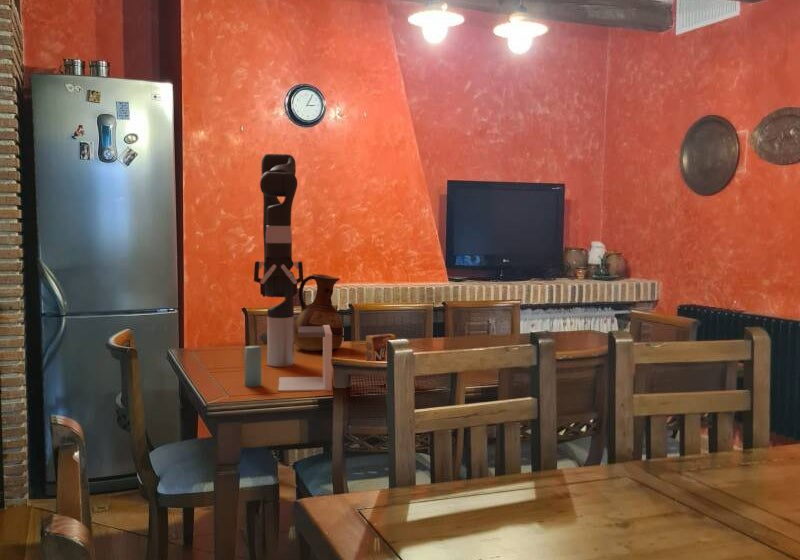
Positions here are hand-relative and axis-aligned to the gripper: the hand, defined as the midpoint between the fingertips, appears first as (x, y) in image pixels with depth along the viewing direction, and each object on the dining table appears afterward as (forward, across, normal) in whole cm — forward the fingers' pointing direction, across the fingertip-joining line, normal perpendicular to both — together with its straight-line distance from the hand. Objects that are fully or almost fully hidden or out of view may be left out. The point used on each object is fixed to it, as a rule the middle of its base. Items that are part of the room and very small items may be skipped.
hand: (278, 296), depth 224 cm
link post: (+29, +8, -13) cm, 33 cm away
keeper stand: (+29, -8, -13) cm, 33 cm away
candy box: (+30, -32, -15) cm, 46 cm away
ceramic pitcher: (+30, -14, -74) cm, 81 cm away
